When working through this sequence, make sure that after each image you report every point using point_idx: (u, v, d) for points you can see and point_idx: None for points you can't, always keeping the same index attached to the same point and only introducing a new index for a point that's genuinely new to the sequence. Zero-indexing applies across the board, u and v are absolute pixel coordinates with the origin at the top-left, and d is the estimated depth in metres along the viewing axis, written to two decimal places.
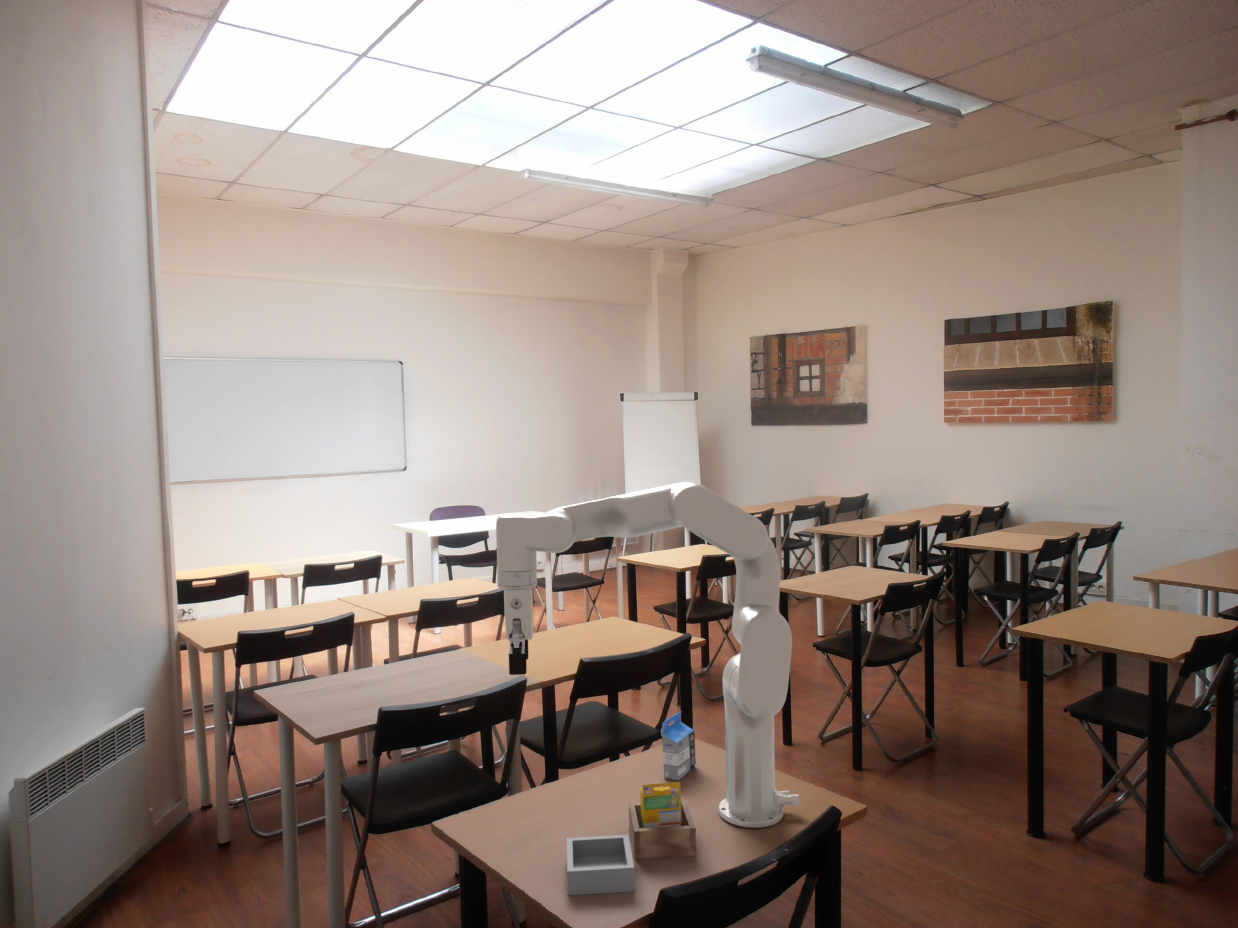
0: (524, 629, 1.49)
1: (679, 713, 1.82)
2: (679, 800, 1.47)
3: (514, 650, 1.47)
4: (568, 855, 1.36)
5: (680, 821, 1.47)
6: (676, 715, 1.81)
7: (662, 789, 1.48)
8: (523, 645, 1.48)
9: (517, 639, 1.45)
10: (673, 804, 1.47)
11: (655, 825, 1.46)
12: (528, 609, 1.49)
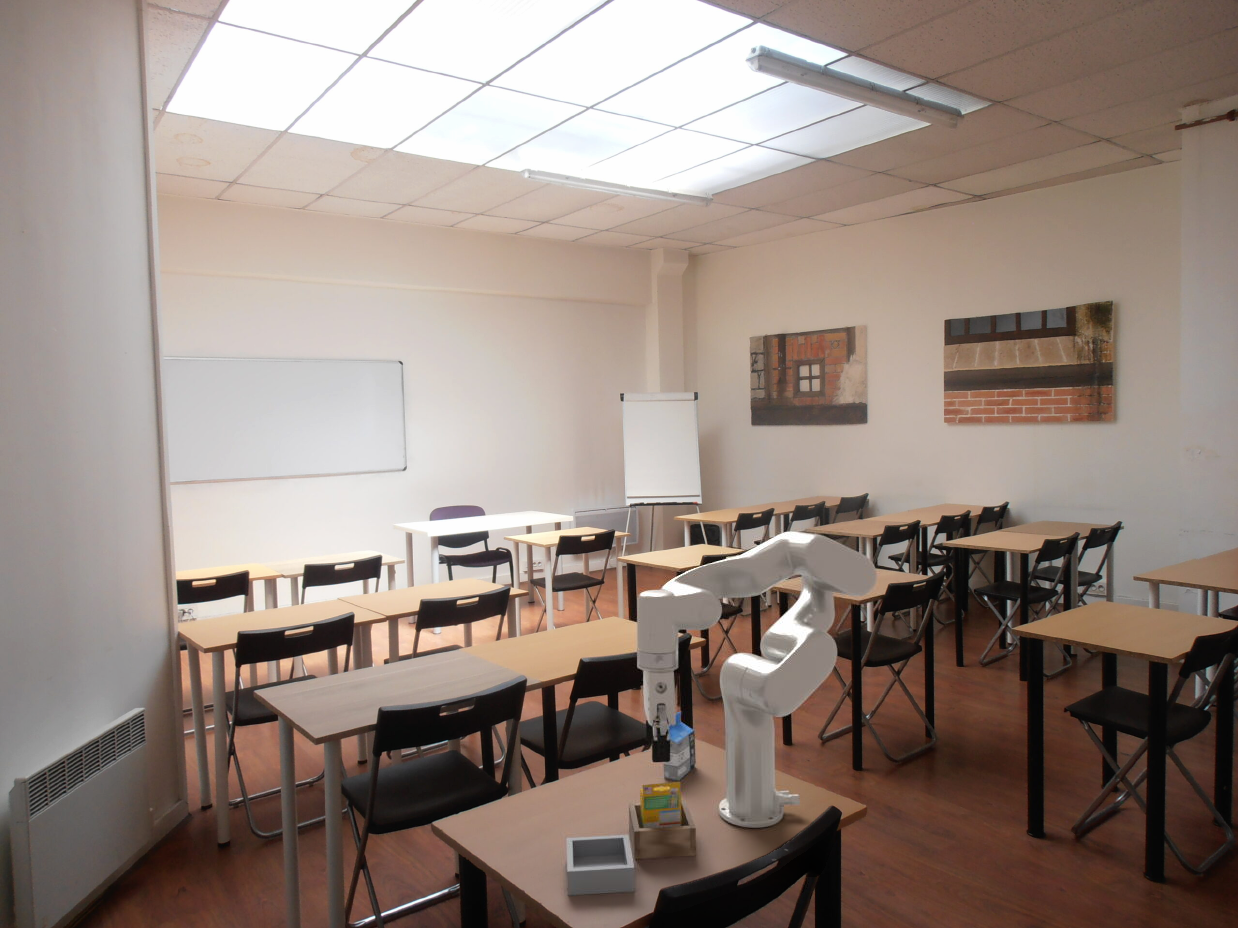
0: (669, 714, 1.42)
1: (679, 713, 1.82)
2: (679, 800, 1.47)
3: (660, 737, 1.40)
4: (568, 855, 1.36)
5: (680, 821, 1.47)
6: (676, 715, 1.81)
7: (662, 789, 1.48)
8: (668, 731, 1.42)
9: (665, 727, 1.39)
10: (673, 804, 1.47)
11: (655, 825, 1.46)
12: (673, 693, 1.42)
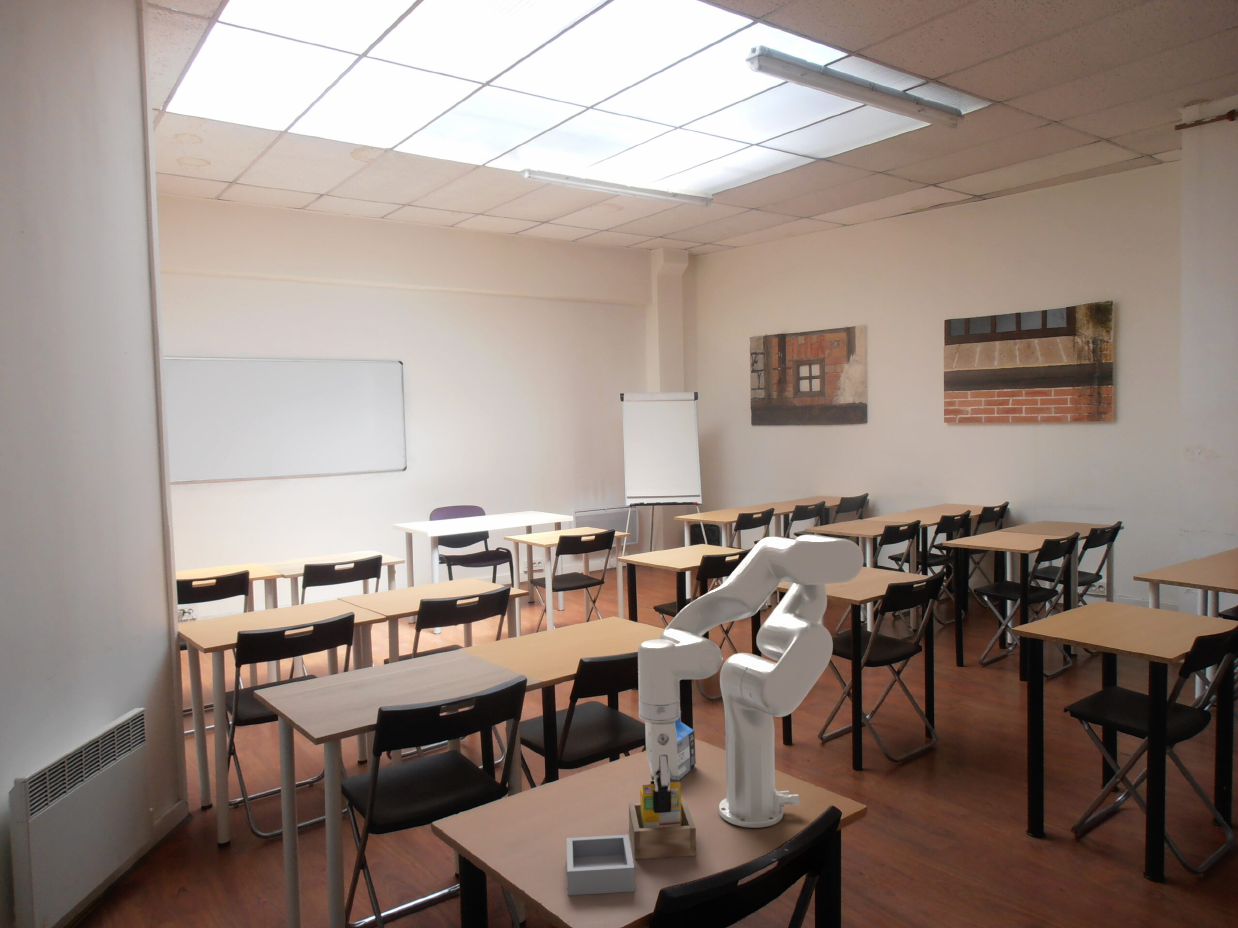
0: (671, 766, 1.42)
1: None
2: (679, 800, 1.47)
3: (660, 789, 1.44)
4: (568, 855, 1.36)
5: (680, 821, 1.47)
6: None
7: None
8: (669, 784, 1.45)
9: (666, 786, 1.42)
10: (673, 804, 1.47)
11: (655, 825, 1.46)
12: (675, 744, 1.43)
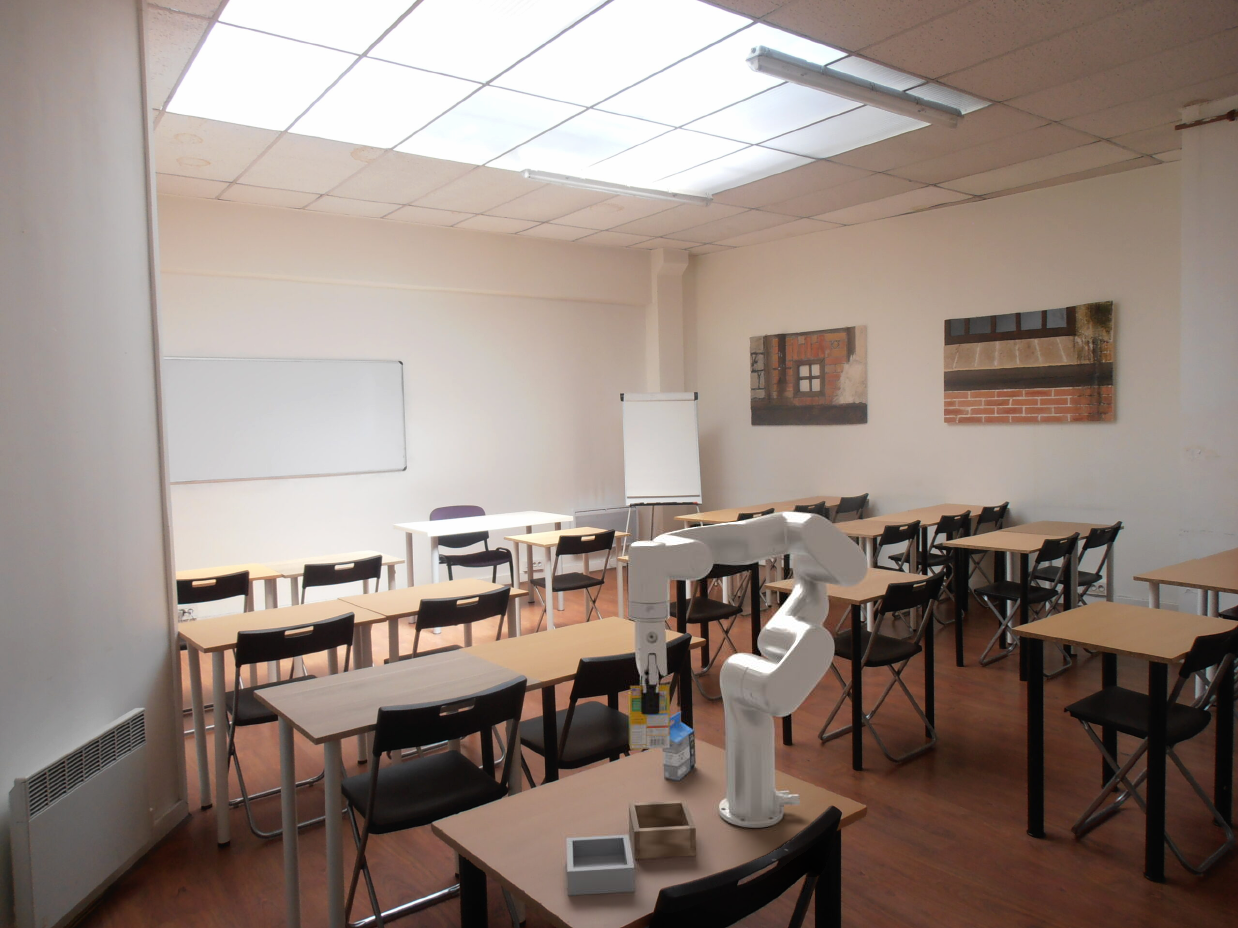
0: (660, 665, 1.40)
1: (679, 713, 1.82)
2: (667, 703, 1.44)
3: (649, 689, 1.41)
4: (568, 855, 1.36)
5: (668, 725, 1.44)
6: (676, 715, 1.81)
7: None
8: (657, 685, 1.42)
9: (654, 685, 1.39)
10: (661, 707, 1.44)
11: (642, 728, 1.44)
12: (664, 643, 1.40)
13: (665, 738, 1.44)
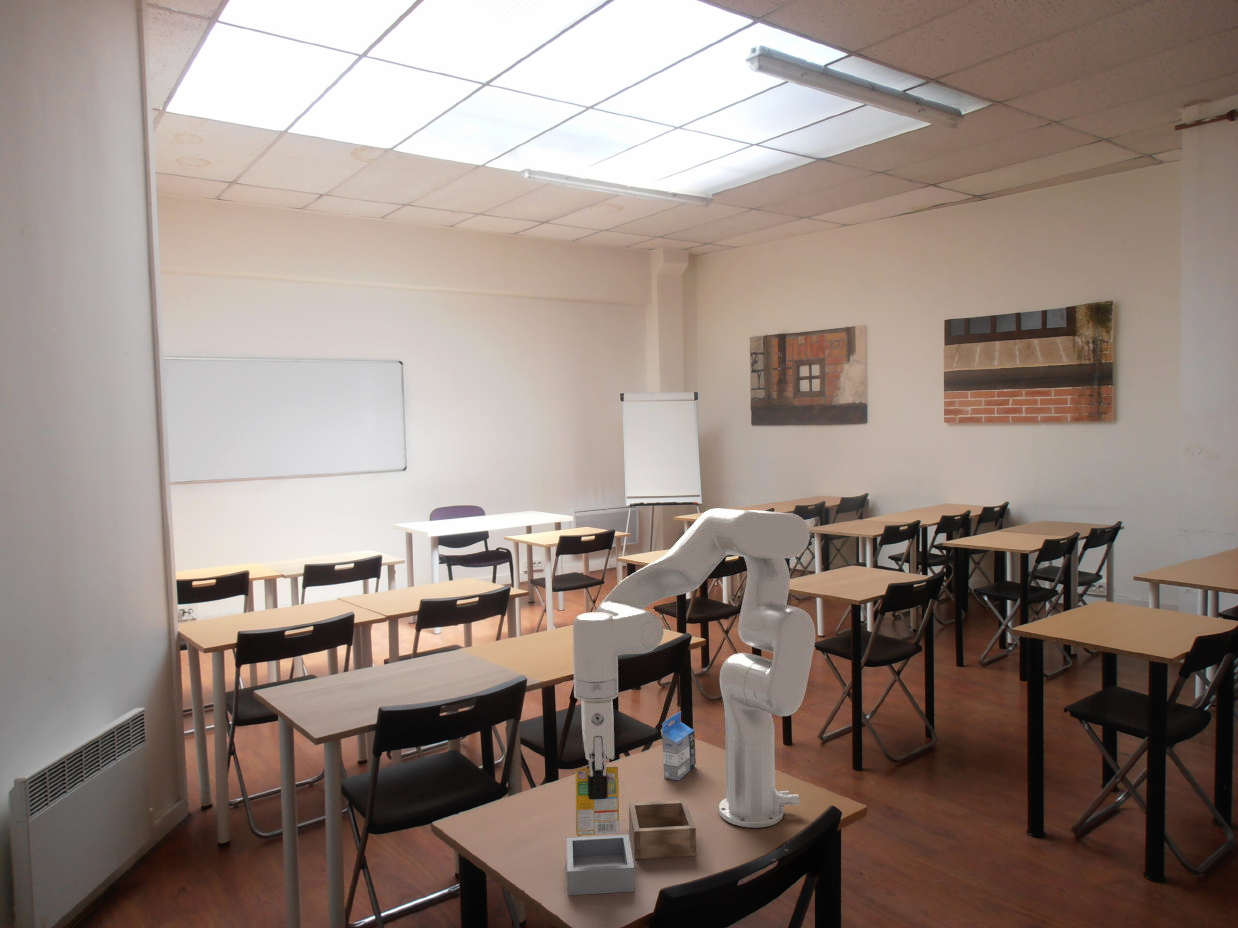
0: (606, 748, 1.31)
1: (679, 713, 1.82)
2: (616, 786, 1.35)
3: (595, 773, 1.33)
4: (568, 855, 1.36)
5: (617, 809, 1.35)
6: (676, 715, 1.81)
7: None
8: (604, 768, 1.33)
9: (600, 770, 1.30)
10: (609, 790, 1.35)
11: (590, 813, 1.35)
12: (611, 725, 1.32)
13: (614, 823, 1.35)
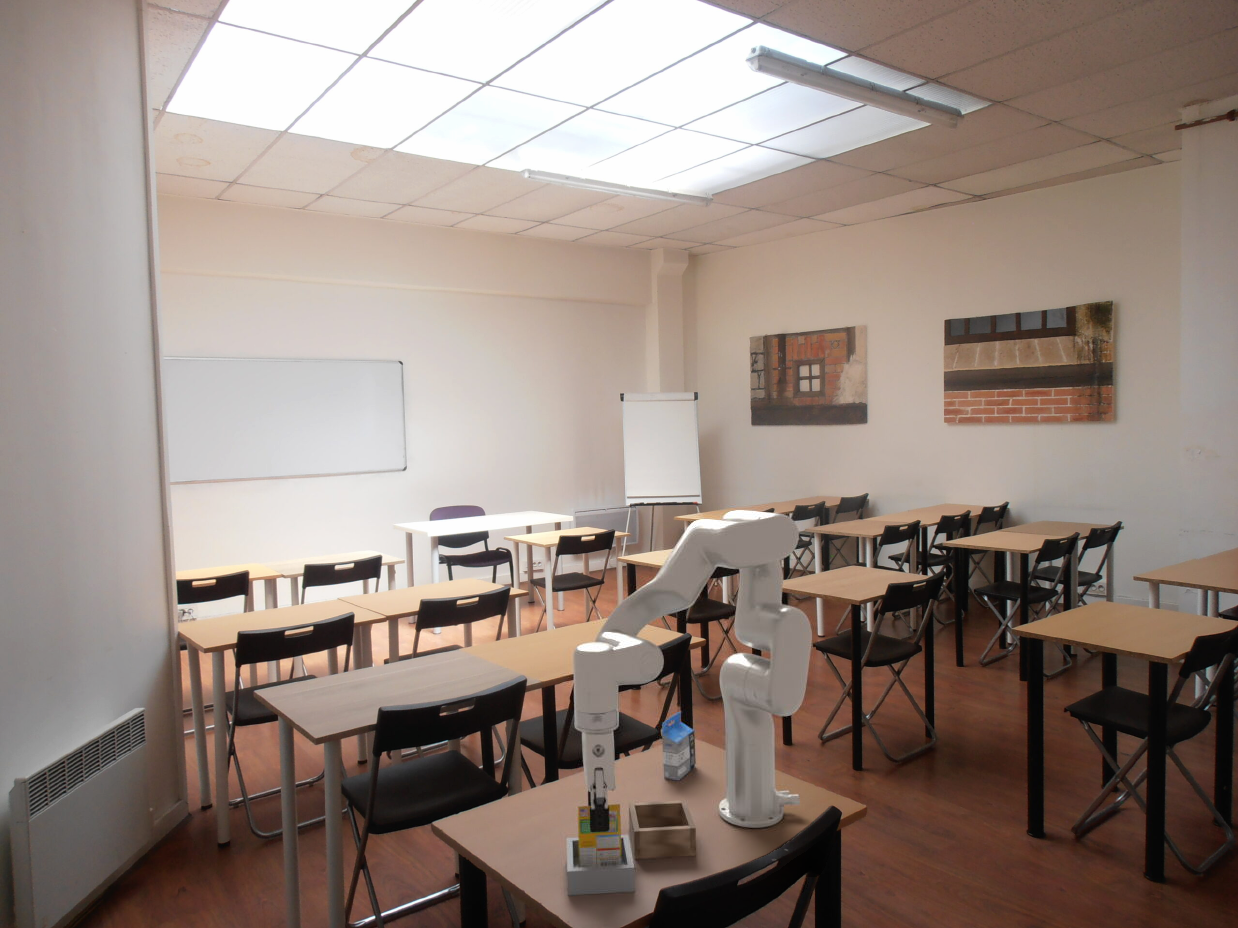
0: (607, 779, 1.31)
1: (679, 713, 1.82)
2: (618, 824, 1.36)
3: (597, 806, 1.31)
4: (568, 855, 1.36)
5: (619, 847, 1.36)
6: (676, 715, 1.81)
7: None
8: (606, 800, 1.32)
9: (601, 798, 1.29)
10: (611, 828, 1.36)
11: (592, 851, 1.36)
12: (611, 756, 1.32)
13: (617, 861, 1.36)
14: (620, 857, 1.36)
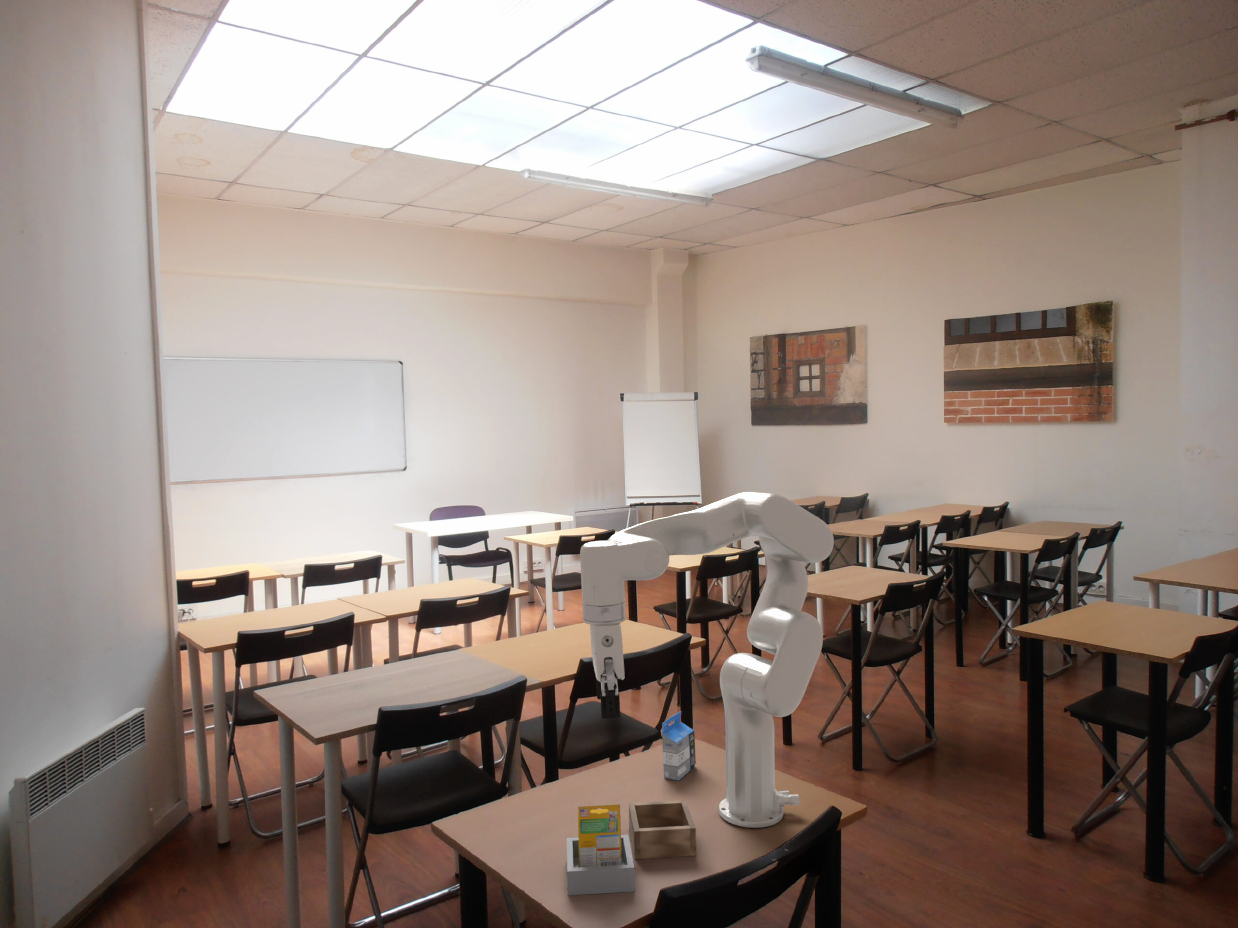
0: (617, 668, 1.36)
1: (679, 713, 1.82)
2: (618, 824, 1.36)
3: (608, 692, 1.34)
4: (568, 855, 1.36)
5: (619, 847, 1.36)
6: (676, 715, 1.81)
7: (601, 811, 1.37)
8: (616, 686, 1.36)
9: (612, 681, 1.32)
10: (612, 828, 1.36)
11: (592, 851, 1.36)
12: (620, 646, 1.36)
13: (617, 861, 1.36)
14: (620, 857, 1.36)
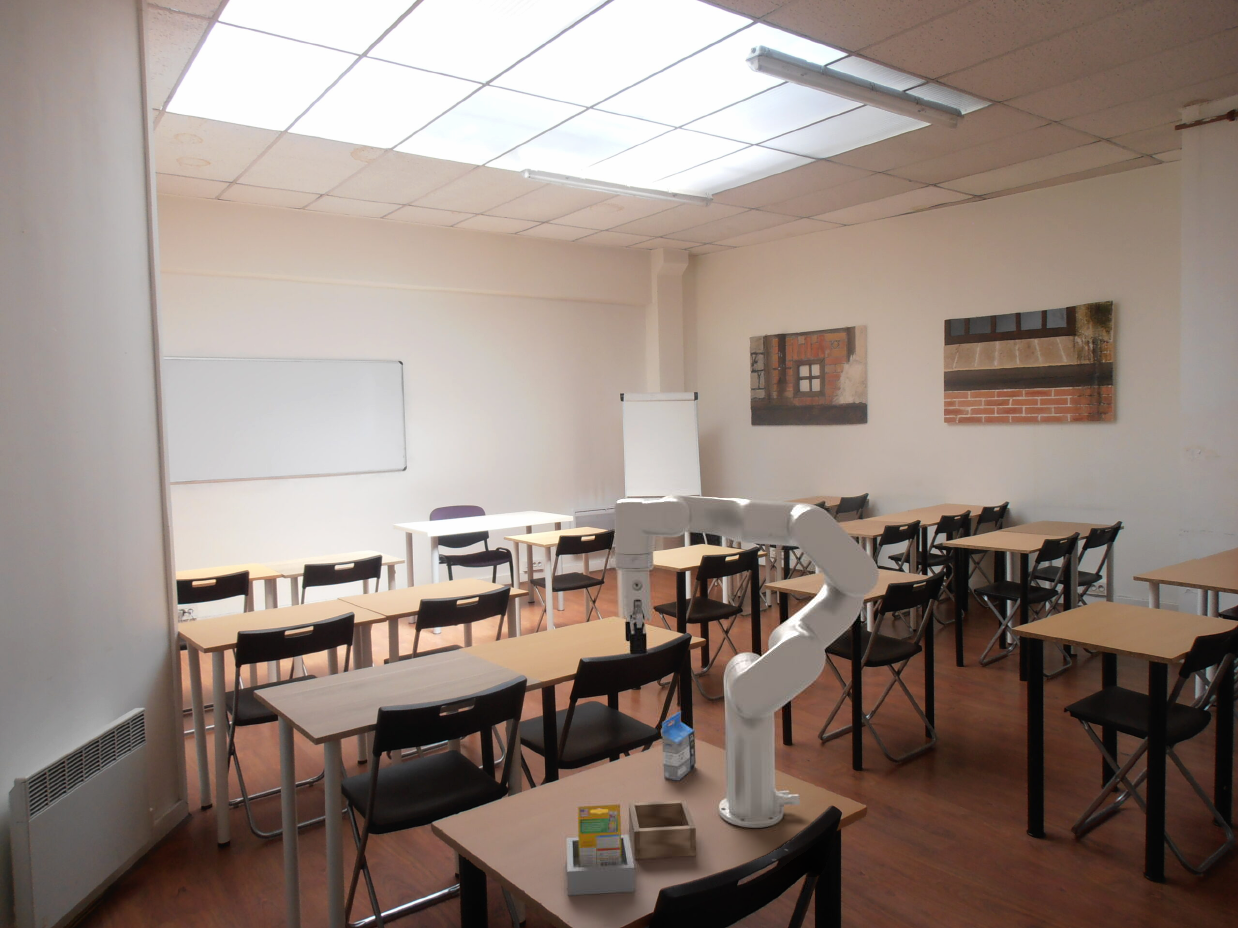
0: (645, 610, 1.53)
1: (679, 713, 1.82)
2: (618, 824, 1.36)
3: (636, 630, 1.52)
4: (568, 855, 1.36)
5: (619, 847, 1.36)
6: (676, 715, 1.81)
7: (601, 811, 1.37)
8: (644, 625, 1.53)
9: (640, 619, 1.50)
10: (612, 828, 1.36)
11: (592, 851, 1.36)
12: (648, 590, 1.54)
13: (617, 861, 1.36)
14: (620, 857, 1.36)
